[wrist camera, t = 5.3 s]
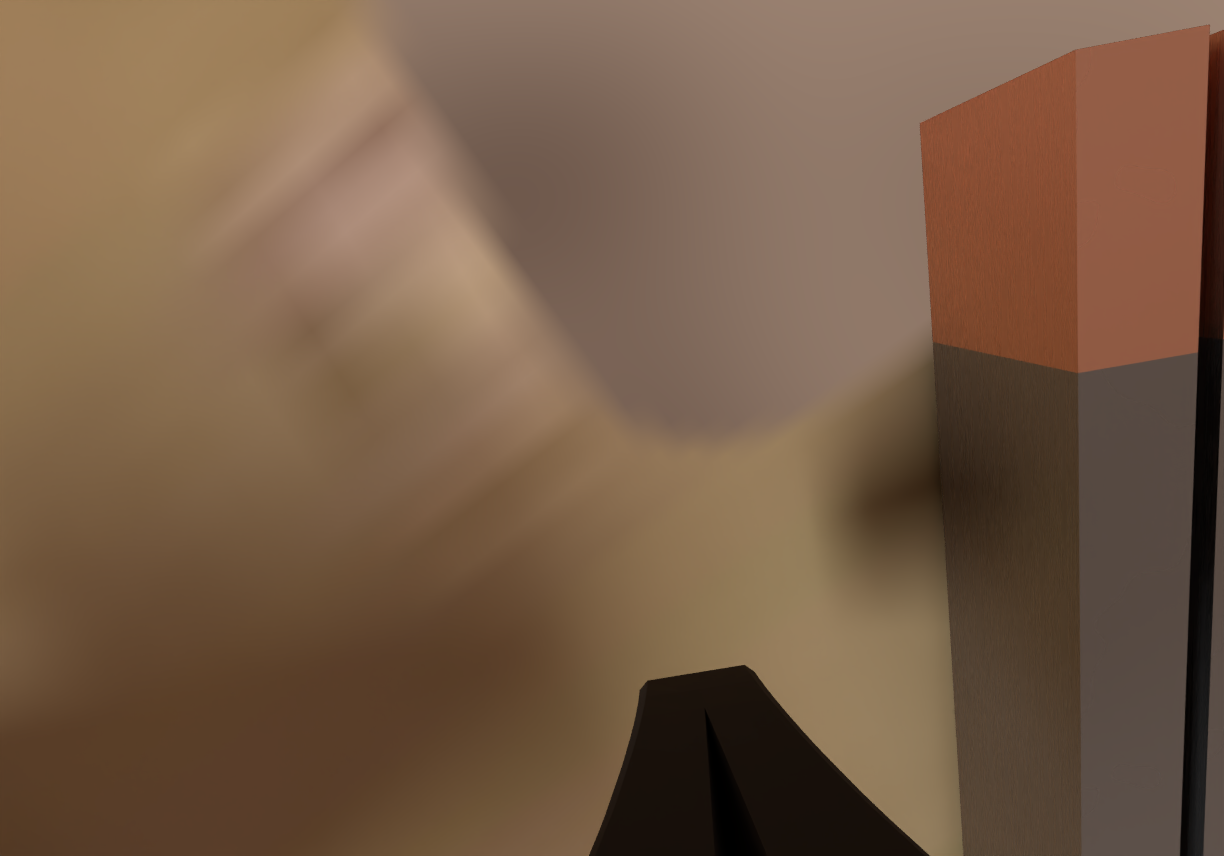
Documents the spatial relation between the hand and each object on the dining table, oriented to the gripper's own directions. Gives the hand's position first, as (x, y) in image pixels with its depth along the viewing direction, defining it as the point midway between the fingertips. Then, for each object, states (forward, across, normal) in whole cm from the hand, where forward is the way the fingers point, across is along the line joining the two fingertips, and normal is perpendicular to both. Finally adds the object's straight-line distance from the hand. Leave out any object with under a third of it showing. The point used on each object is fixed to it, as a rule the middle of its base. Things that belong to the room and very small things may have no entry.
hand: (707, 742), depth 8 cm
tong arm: (+3, -5, +1) cm, 6 cm away
